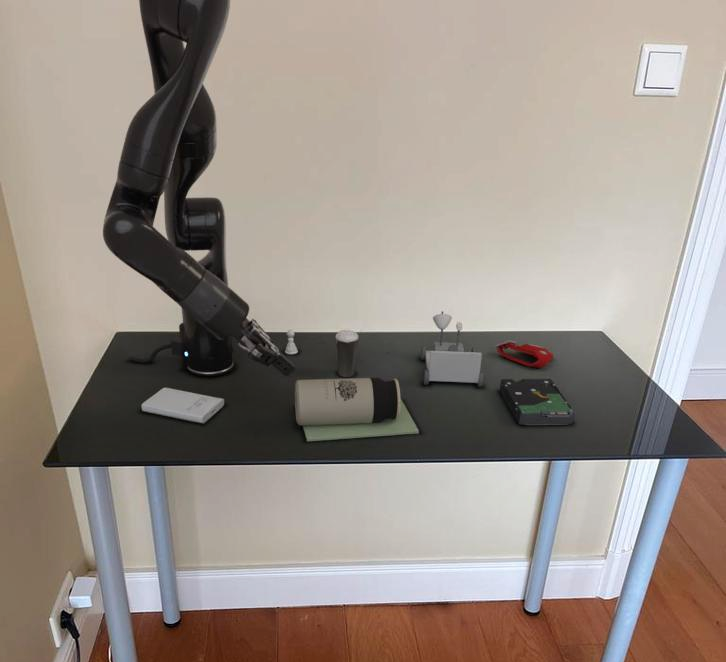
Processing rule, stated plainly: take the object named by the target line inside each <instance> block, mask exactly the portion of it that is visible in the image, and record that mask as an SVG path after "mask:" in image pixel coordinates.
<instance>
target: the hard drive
mask: <svg viewBox="0 0 726 662" xmlns="http://www.w3.org/2000/svg"><path fill="white" fill-rule="evenodd" d="M224 406H225V398H221V397H216V396H215V397H214V396H210V395H205V394H200V393H195V392H190V391H186V390H181V389H175V388H170V387H163V388H161V389H160V390H159V391H157V392H156V393H154V394H153V395H152V396H150V397H148V399H146V400H145V401H144V402H143V403H141V411H142V412H144V413H145V412H146V413H150V414H153V415H154V414H155V415H160V416H164V417H170V418H174V419H180V420H184V421H188V422H193V423H199V424H205V423H206V422H208V421H209V419H211V418H212V417H213V416H214V415H215V414H216V413H218V412H219V411H220V410H221V409H222V408H223V407H224Z"/></svg>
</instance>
